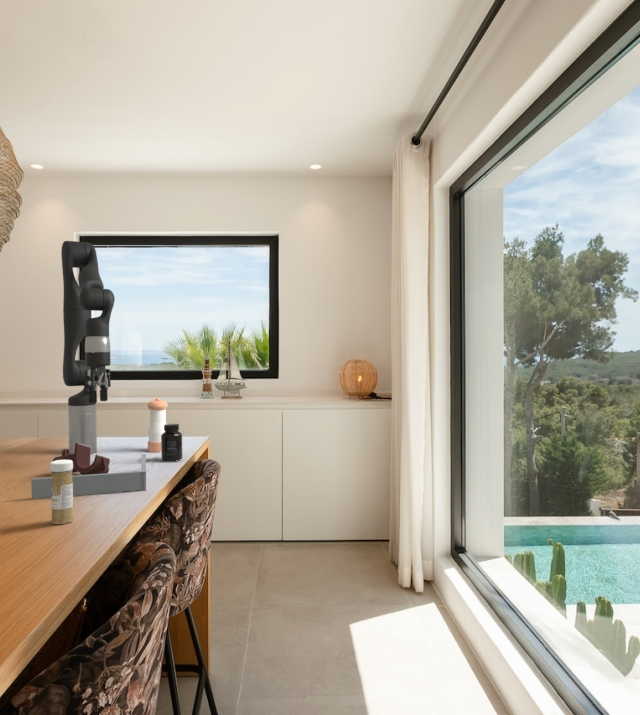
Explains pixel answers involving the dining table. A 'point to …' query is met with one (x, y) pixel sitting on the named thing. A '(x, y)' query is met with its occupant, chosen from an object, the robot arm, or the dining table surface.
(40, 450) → the dining table surface
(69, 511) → the sprinkles bottle
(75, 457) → the bracket
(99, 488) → the angled bar
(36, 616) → the dining table surface
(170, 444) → the supplement bottle
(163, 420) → the pepper shaker
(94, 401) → the robot arm
